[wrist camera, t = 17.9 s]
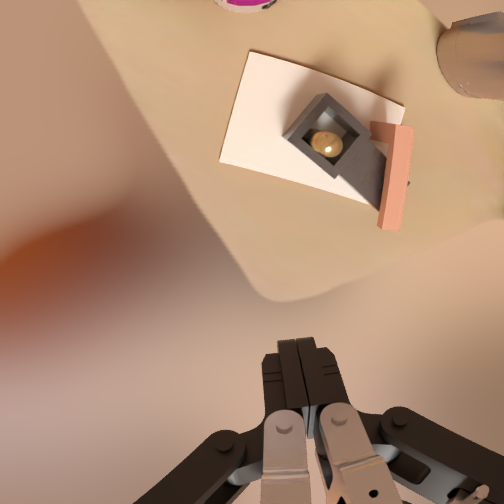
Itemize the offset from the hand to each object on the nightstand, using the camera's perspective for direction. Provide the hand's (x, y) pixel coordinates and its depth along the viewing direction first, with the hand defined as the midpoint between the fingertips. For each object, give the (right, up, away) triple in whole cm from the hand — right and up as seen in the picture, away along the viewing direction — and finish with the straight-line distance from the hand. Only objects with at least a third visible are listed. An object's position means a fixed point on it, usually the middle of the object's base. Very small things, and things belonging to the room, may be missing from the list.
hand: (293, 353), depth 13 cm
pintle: (+4, +16, +18) cm, 25 cm away
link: (+8, +15, +18) cm, 25 cm away
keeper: (+12, +14, +19) cm, 26 cm away
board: (+5, +17, +18) cm, 25 cm away
